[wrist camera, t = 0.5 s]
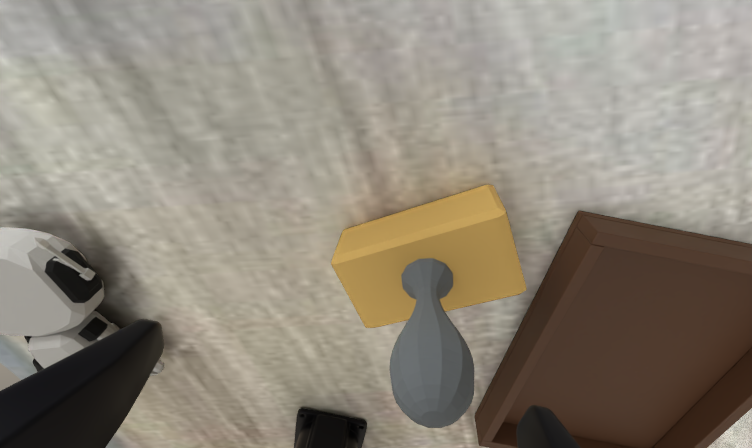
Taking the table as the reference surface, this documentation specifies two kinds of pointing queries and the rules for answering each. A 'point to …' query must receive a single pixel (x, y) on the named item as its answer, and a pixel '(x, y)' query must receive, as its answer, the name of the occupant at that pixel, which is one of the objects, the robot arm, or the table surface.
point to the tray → (631, 340)
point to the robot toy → (50, 296)
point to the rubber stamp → (430, 291)
